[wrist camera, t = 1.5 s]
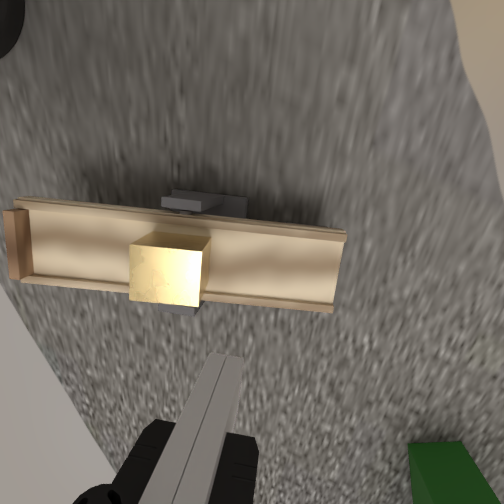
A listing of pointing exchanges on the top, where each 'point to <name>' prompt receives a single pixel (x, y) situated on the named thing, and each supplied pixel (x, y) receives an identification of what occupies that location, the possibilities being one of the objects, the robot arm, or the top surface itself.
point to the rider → (169, 268)
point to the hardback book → (446, 475)
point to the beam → (183, 222)
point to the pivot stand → (207, 206)
